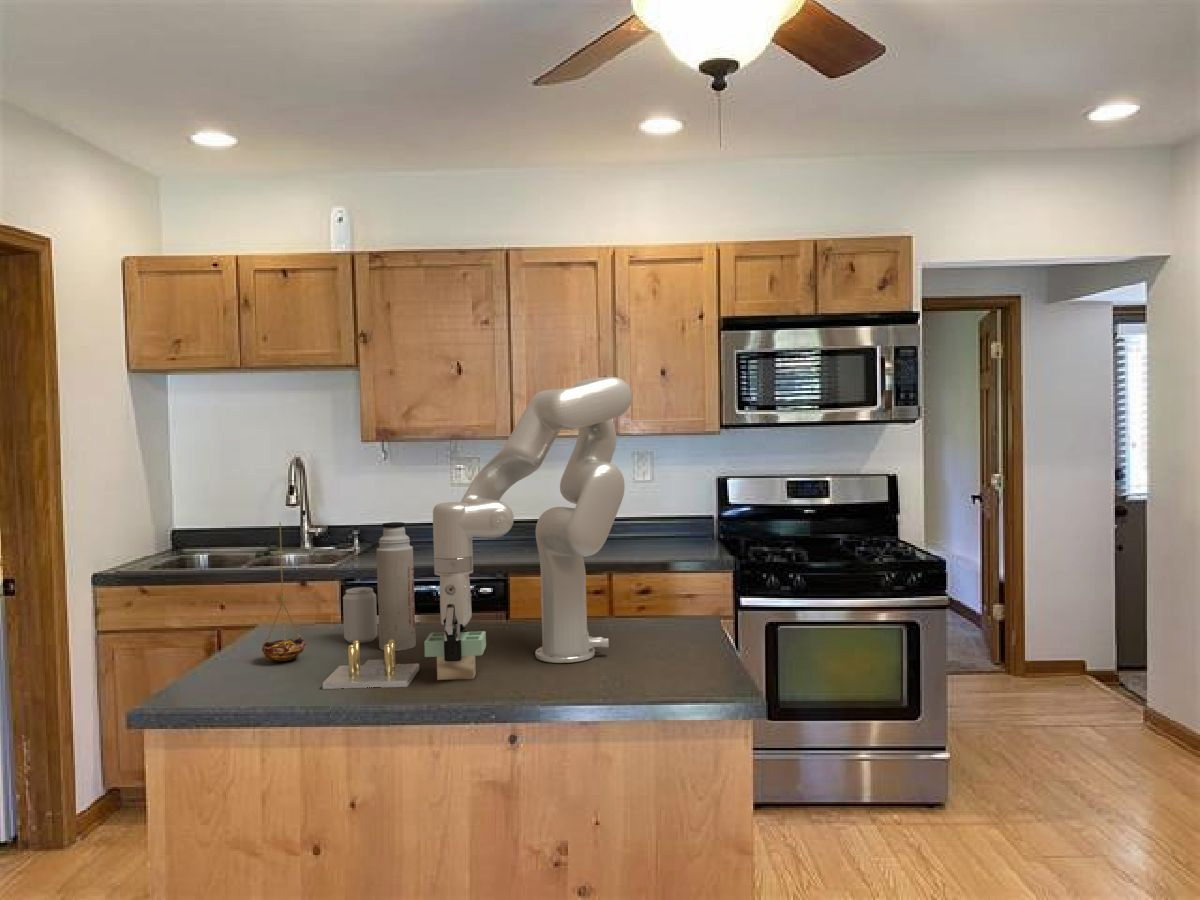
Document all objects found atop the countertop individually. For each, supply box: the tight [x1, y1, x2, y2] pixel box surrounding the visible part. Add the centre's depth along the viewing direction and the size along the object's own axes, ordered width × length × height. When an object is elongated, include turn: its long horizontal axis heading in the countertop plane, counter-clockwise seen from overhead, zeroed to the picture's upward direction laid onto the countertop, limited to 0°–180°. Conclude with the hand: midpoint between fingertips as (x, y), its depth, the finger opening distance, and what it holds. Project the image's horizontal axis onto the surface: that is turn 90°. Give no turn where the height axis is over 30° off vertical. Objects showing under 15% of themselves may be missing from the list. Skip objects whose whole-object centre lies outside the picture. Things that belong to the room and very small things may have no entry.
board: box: [423, 630, 487, 658], centre depth 175 cm, size 11×7×3 cm, turn 91°
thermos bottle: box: [376, 521, 416, 652], centre depth 200 cm, size 8×8×28 cm
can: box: [342, 586, 378, 644], centre depth 207 cm, size 8×8×12 cm
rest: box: [436, 656, 477, 681], centre depth 175 cm, size 7×4×5 cm, turn 91°
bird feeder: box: [261, 521, 307, 663], centre depth 190 cm, size 9×9×30 cm
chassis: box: [322, 639, 420, 690], centre depth 175 cm, size 16×12×7 cm
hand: (456, 654), depth 175 cm, fingers closed on board, 7 cm apart
